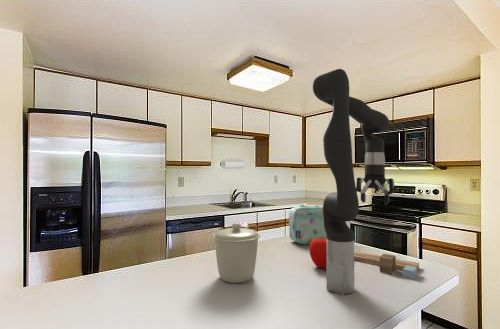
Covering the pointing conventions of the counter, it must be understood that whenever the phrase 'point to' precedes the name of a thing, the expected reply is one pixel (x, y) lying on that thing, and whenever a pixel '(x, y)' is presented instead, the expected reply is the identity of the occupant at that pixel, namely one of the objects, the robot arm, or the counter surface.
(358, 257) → the oak board
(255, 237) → the canister
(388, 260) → the walnut block
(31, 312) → the counter surface
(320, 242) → the tomato
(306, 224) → the lunch box
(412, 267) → the slate stop block
